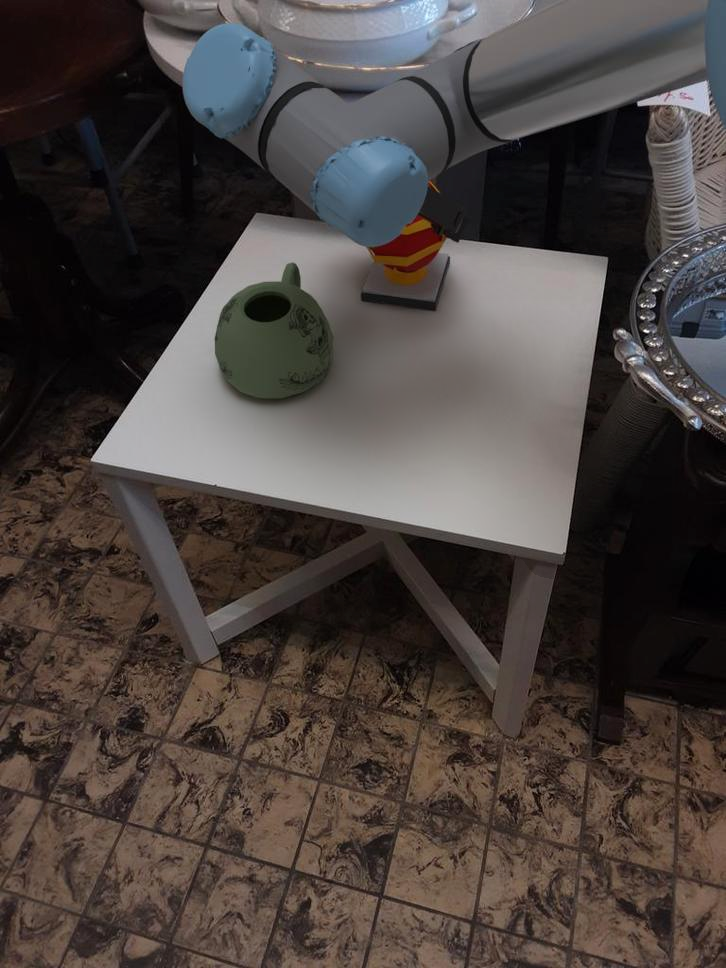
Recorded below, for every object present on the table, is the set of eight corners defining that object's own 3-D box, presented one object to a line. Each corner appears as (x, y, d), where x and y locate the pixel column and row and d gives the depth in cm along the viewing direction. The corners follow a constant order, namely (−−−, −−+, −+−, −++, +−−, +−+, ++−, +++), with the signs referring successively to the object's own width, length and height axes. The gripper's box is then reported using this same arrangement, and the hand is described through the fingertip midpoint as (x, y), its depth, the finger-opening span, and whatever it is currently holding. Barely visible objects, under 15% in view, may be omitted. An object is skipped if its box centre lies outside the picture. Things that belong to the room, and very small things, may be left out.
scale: (449, 263, 95) (450, 252, 94) (435, 310, 90) (436, 300, 89) (379, 255, 97) (378, 244, 96) (361, 300, 92) (360, 290, 91)
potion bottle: (451, 298, 89) (459, 177, 77) (362, 300, 89) (355, 181, 77) (446, 243, 95) (452, 124, 83) (362, 245, 96) (357, 127, 84)
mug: (318, 416, 81) (310, 355, 74) (203, 398, 83) (185, 338, 76) (354, 316, 90) (350, 253, 83) (250, 303, 92) (237, 241, 86)
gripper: (218, 149, 75) (333, 213, 94) (407, 228, 66) (491, 281, 85) (246, 70, 73) (358, 153, 93) (445, 140, 64) (521, 215, 83)
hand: (421, 214), depth 89 cm, fingers closed on potion bottle, 10 cm apart
